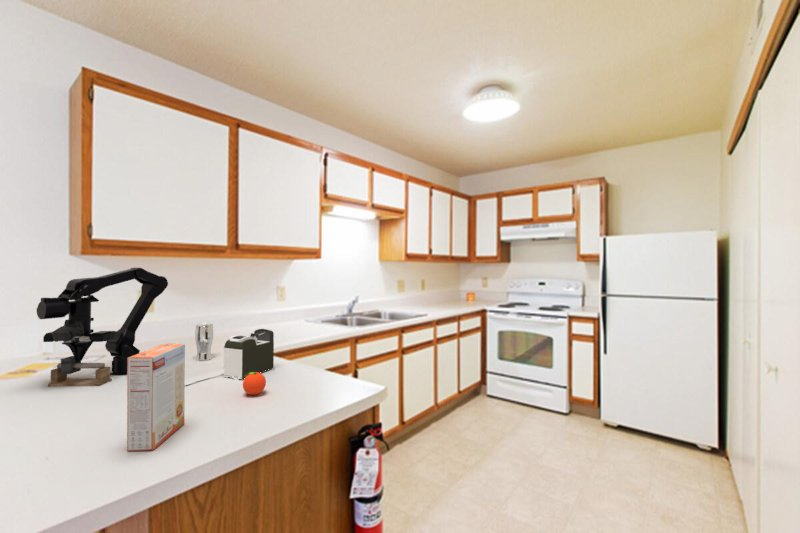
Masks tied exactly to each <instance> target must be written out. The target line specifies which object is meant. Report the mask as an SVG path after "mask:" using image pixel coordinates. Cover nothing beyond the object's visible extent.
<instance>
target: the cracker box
mask: <svg viewBox="0 0 800 533" xmlns="http://www.w3.org/2000/svg"><path fill="white" fill-rule="evenodd" d="M185 368H186V344H185V343H162V344H160V345H157V346H154V347H152V348H150V349H147V350H144V351H140V352H139V354H136V355H133V356H131V357H128V358H127V375H126V377H127V378H126V380H127V382H126V383H127V387H126V388H127V389H126V390H127V393H126V395H127V403H126V404H127V406H126V409H127V412H126V414H127V416H126V417H127V418H126V420H127V421H126V426H127V427H126V433H127V434H126V439H127V440H126V444H127V446H126V451H127V452H138V451H139V452H141V451H142V452H144V451H154V450H156V449H157V447H159V446H160V445H161V444H162V443H163V442H165V441H166V440H167V439H168V438H169V437H171V435H173V434H174V433H175V432H176V431H177V430H179V428H181V427H182V426H183V425H184V424H185V407H186V406H185V404H186V403H185V401H186V400H185V392H186V391H185V388H186V386H185V378H186V376H185V375H186V374H185V373H186V370H185Z"/></svg>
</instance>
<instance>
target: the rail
mask: <svg viewBox="0 0 800 533" xmlns="http://www.w3.org/2000/svg"><path fill="white" fill-rule="evenodd" d="M78 368H81V369H95V377H92V378H87V377H85V378H83V377H82V378H79V377H75V378H70V377H69V378H68V374H61V362H59V363H58V364H57V365H56V368H53V369H51V370H50V383H47V387H101V386H103V385H105V384H107V383H109V382H111V381H113V378H112V377H111V375H110V373H111V366H106V363H104V362H81V363H73V369H78Z"/></svg>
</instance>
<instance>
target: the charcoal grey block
mask: <svg viewBox="0 0 800 533" xmlns="http://www.w3.org/2000/svg"><path fill="white" fill-rule="evenodd" d="M60 363H61V374H67V375H71V374H74V373H75V374H76V373H77V372H80V371H81V370H82V368H78V369H73V363H82V361H80V362H76V359H75V357H74V355H71V356H67V357H65V358H60Z"/></svg>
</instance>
